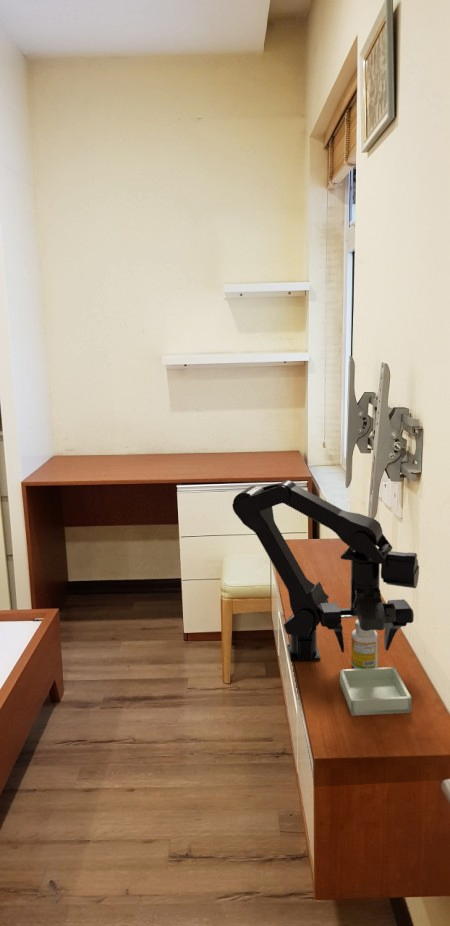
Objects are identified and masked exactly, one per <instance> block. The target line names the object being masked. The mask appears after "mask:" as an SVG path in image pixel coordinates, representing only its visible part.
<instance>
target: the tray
mask: <svg viewBox="0 0 450 926" xmlns="http://www.w3.org/2000/svg"><path fill="white" fill-rule="evenodd" d="M339 686H340V687H341V690H342V693H343V696H344V698H345V701H346V705H347V707H348V710H349V714H350V715H351V717H352V716H371V715H390V714H391V715H392V714H409V713H410V714H411V713H412V696H411V694H410V693H409V691H408V689H407V687H406V685H405V683H404V681H403V679H402V678H401V676H400V674H399V672H398V670H397V669H396V667H395V666H391V667H389V666H386V667H385V666H384V667H377V668H363V669H356V668H349V669H347V668H346V669H339Z"/></svg>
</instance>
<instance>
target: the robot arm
mask: <svg viewBox="0 0 450 926" xmlns="http://www.w3.org/2000/svg"><path fill="white" fill-rule="evenodd" d="M281 504H284V505H286V506H288V507H290V508H291V509H293V510H295V511H297V512H298V513H300V514H301V515H305V516H306V517H307V518H309V519H311V520H313V521H315V522H317V523H319V524H320V525H323V526H324V527H326V528H328V529H329V530H331V531H332V532H334V533H335V535H336V536H337V537H338V538H339V539H340V540H341V541H342V543H344V544H345V545H346V546H348V548H347V549H346V550H344V552H343V553H341V555H340V559H341V560H346V561H350V581H349V585H350V599H349V603H350V607H348V608H347V607H345V608H341V607H339V605H338V603H337V602H329V598H330V596H329V595H328V594H327V593H326V592H325V590H324V588H323V585H322V584H321V582H320V581H317V582H315V584H314V582H312V581H310V580H309V579H308V578H307V577H306V575H305V572H303V570H302V568H301V566H300V564H299V562H298V561H297V559H296V557H295V556H294V553H293V552H292V550H291V548H290V547H289V545H288V543H287V541H286V540H285V538H284V536H283V534H282V533H281V531H280V529H279V527H278V526H277V524H276V521H275V516H274V512H273V511H274V510H273V507H274V506H278V505H281ZM232 510H233V512H234V514H235V515H236V516H237V517H238V519H239V520H240V521H241V523H242V524H243V525H244V526H246V527H247V529H250V530H252V531H253V532H254V533H255V535H256V537H257V539H258V540H259V542H260V544H261V546H262V547H263V549H264V551H265V552H266V554H267V556H268V558H269V560H270V561H271V563H272V565H273V567H274V569H275V570H276V572H277V574H278V576H279V577H280V579H281V580H282V582H283V584H284V586H285V588H286V589H287V592H288V599H289V607H290V610H291V612H292V614H291V615H290V616H289V617H288V619H287V620H286V621H285V623H284V624H283V628H284V631H285V633H286V635H289V644H287V645H286V648H287V652H288V655H289V656H288V657H289V660H290V661H291V662H296V661H318V660H321V655H320V654H321V653H320V651H319V648H318V645H317V640H318V639H317V626H319V624H320V625H321V627H325V628H327V629H328V630H330V631H333V632H334V634H335V637H336V640H337V643H338V646H339V649H340V651H341V653H342V654H343V653H344V651H345V643H344V636H343V635H344V634H343V629H344V628H343V625H342V619H351V618H357V620H359V623H360V628H361V629H362V630H364V631H369V630H375V631H384V635H383V636H384V641H383V643H384V650H385V651H389V649H390V646H391V644H392V642H393V640H394V637H395V635H396V633H397V632H398V631H399V630H400V629H401V628H402V627H406V626H407V624H412V623H413V622H414V619H415V617H414V616H415V614H414V610H413V608H412V607H411V606H410V604H409V603H408V601H406V600H405V599H404V598H403V599H388V600H387V602H384V601H383V600H382V597H381V595H382V594H381V589H380V578H381V579H382V582H383V583H385V584H386V585H389V586H396V587H403V588H411V589H416V588H417V586H418V582H419V575H420V565H419V561H418V554H417V553H416V552H401V551H392V550H393V546H392V544H391V543H390V542H389V540H388V539H387V538H386V536H385V535H384V533H383V528H382V526H381V523H380V522H379V521H378V520H376V519H375V518H372V517H370V516H368V515H364V514H361V513H356V512H351V511H347V510H343V509H341V508H340V507H338V506H335V505H334V504H332V503H331V502H328V501H327V500H325V499H323V498H321V497H319V496H317V495H315V494H313V493H312V492H311V491H308V490H306V489H304V488H302V487H300V486H299V485H297V484H296V483H294V481H292V480H283V481H282V482H279V483H274V484H270V485H267V486H263V487H262V486H257V485H252V486H250V487H247V488H246V489H244V490H242V491H241V492H239V493H238V494H237V495H236V496H234V499H233V502H232ZM380 565H381V566H380ZM380 568H381V569H380Z"/></svg>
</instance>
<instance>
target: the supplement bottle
mask: <svg viewBox="0 0 450 926" xmlns="http://www.w3.org/2000/svg"><path fill="white" fill-rule="evenodd" d="M354 626H355V627H354V630H352V632H351V665H352V667H353V669H363V668H378V667H379V666H378V665H379V634H378V632H377V630H369V631H364V630H362V629H361V628H360V623H359V620H358V619H356V620H355V622H354Z"/></svg>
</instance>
